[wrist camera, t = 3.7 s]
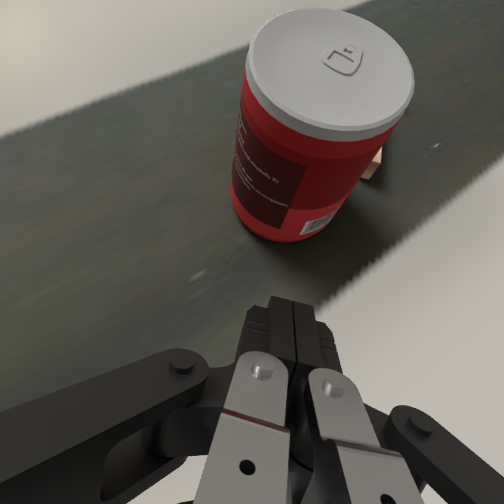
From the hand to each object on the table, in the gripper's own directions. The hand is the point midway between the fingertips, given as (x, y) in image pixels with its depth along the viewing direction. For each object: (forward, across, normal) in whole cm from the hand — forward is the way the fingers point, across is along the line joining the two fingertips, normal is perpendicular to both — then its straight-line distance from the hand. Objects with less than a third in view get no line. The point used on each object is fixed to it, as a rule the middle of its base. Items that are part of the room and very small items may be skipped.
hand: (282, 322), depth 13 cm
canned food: (+15, 0, -2) cm, 15 cm away
